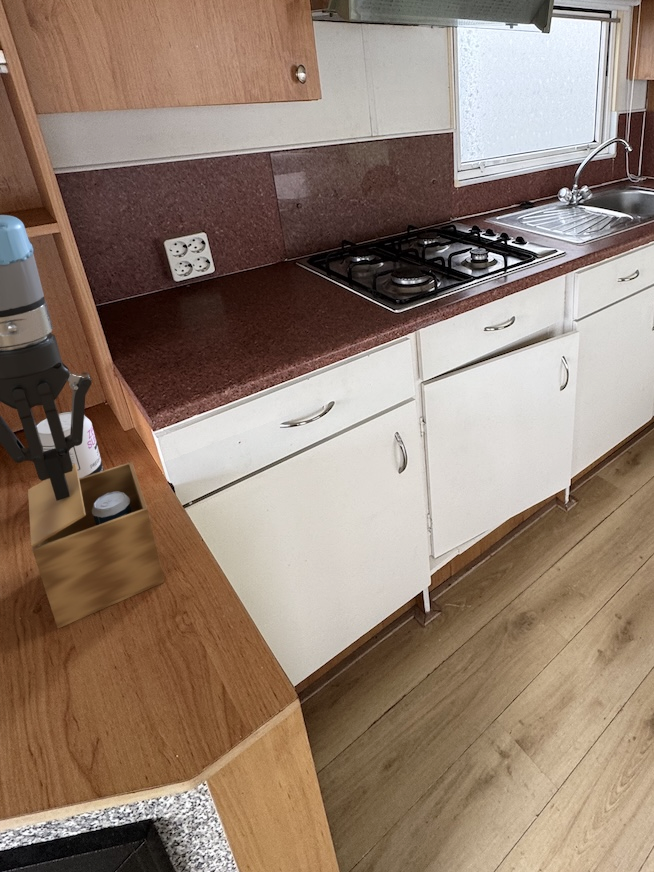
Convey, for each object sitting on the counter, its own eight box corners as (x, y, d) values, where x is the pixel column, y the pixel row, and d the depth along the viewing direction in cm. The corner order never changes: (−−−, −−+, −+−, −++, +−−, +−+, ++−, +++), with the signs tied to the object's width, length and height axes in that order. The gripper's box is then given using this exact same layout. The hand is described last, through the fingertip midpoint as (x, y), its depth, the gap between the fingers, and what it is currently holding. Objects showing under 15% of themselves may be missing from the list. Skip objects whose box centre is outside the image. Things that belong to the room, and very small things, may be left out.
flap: (32, 547, 74) (30, 545, 74) (29, 491, 84) (27, 489, 84) (86, 515, 77) (84, 513, 77) (76, 464, 87) (75, 463, 87)
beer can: (151, 555, 91) (136, 492, 87) (126, 578, 86) (109, 513, 82) (125, 549, 92) (109, 487, 88) (99, 572, 87) (81, 508, 83)
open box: (57, 628, 79) (32, 550, 74) (51, 566, 89) (29, 494, 85) (164, 582, 87) (147, 508, 82) (147, 529, 97) (131, 461, 92)
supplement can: (43, 498, 104) (21, 426, 98) (94, 474, 110) (75, 405, 105) (65, 515, 100) (44, 441, 94) (116, 489, 106) (98, 418, 101)
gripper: (-55, 363, 66) (2, 529, 74) (82, 336, 74) (120, 488, 82) (-50, 342, 72) (2, 498, 80) (77, 319, 80) (113, 463, 88)
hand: (62, 493), depth 81 cm, fingers closed
